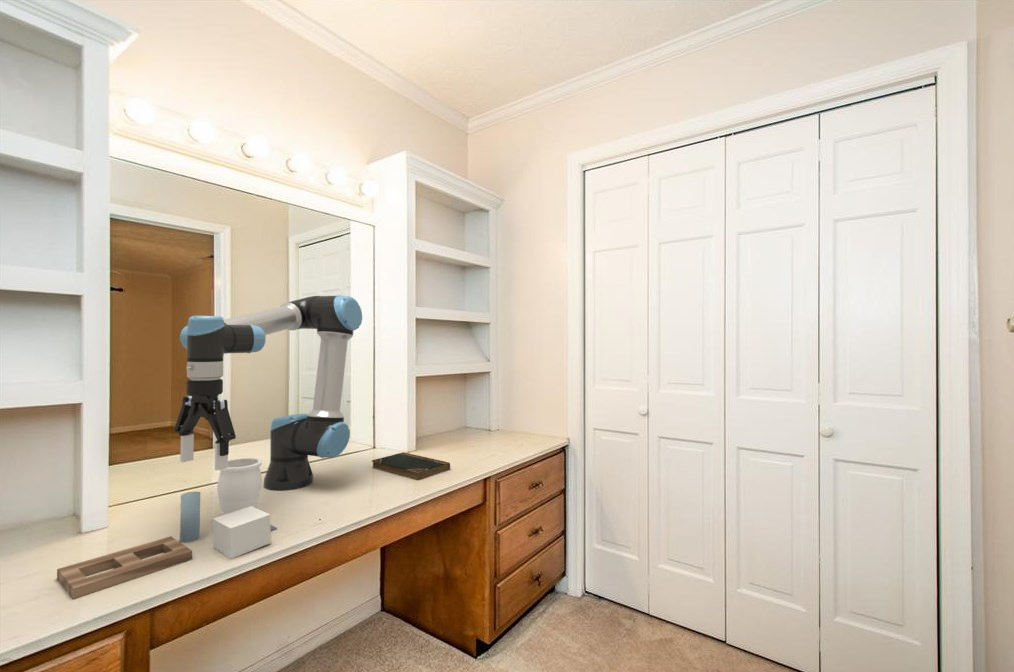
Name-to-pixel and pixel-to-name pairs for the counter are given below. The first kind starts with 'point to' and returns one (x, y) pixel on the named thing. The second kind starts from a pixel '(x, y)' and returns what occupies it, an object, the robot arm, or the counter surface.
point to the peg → (190, 517)
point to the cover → (241, 531)
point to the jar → (239, 484)
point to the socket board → (122, 566)
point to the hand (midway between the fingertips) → (203, 465)
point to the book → (410, 465)
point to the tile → (272, 528)
